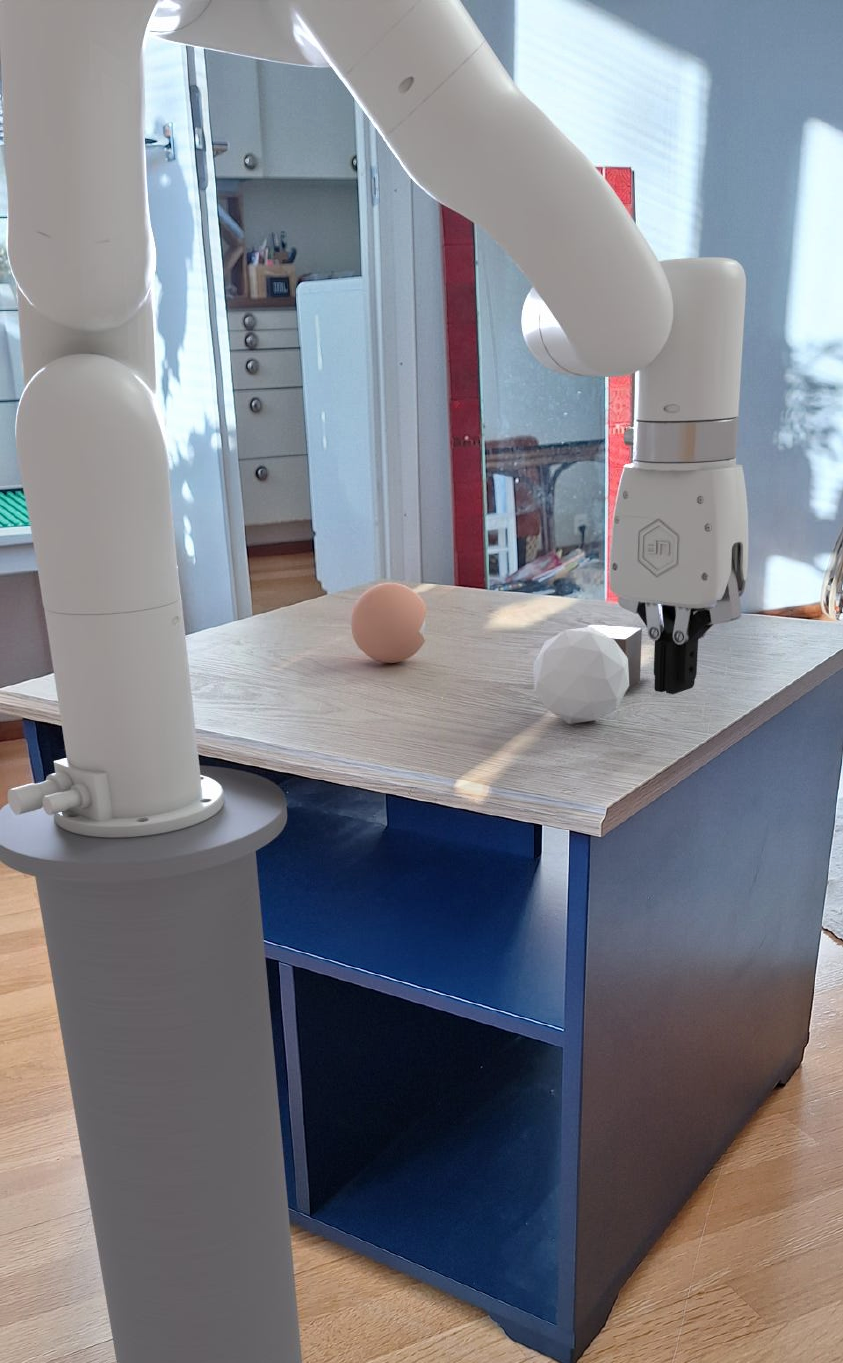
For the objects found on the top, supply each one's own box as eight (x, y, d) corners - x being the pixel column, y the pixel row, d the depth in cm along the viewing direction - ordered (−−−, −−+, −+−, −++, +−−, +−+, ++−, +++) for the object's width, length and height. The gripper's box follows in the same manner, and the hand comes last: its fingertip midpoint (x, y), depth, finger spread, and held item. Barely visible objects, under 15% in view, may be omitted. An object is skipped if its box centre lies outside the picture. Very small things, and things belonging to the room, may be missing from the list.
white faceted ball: (546, 698, 102) (479, 685, 113) (620, 745, 106) (548, 728, 117) (592, 610, 102) (521, 605, 113) (665, 661, 106) (589, 652, 117)
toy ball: (445, 659, 132) (443, 581, 128) (394, 674, 126) (390, 593, 123) (388, 650, 137) (384, 574, 133) (336, 664, 131) (331, 585, 128)
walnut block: (624, 694, 117) (625, 639, 115) (571, 689, 119) (572, 635, 117) (640, 681, 121) (642, 627, 119) (589, 677, 123) (590, 624, 121)
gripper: (573, 446, 98) (571, 684, 105) (743, 453, 88) (727, 715, 95) (634, 438, 102) (628, 667, 110) (802, 443, 92) (782, 694, 100)
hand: (674, 688), depth 103 cm, fingers closed
